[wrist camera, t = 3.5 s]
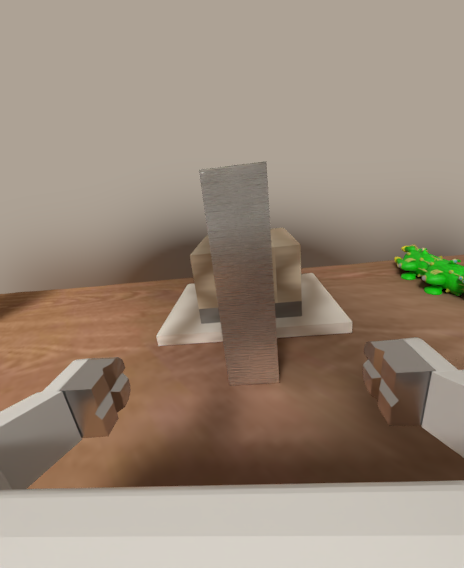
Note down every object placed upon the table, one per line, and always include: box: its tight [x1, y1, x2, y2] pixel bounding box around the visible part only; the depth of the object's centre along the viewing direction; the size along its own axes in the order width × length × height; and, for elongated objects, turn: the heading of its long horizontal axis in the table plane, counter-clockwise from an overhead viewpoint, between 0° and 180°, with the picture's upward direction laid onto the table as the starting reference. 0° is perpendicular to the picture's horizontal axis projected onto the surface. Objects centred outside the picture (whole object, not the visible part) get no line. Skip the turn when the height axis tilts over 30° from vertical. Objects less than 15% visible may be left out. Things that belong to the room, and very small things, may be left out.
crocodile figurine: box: [394, 245, 464, 296], centre depth 34 cm, size 7×18×4 cm, turn 175°
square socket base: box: [156, 228, 352, 346], centre depth 33 cm, size 20×16×9 cm
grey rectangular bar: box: [199, 162, 279, 385], centre depth 20 cm, size 4×5×16 cm
